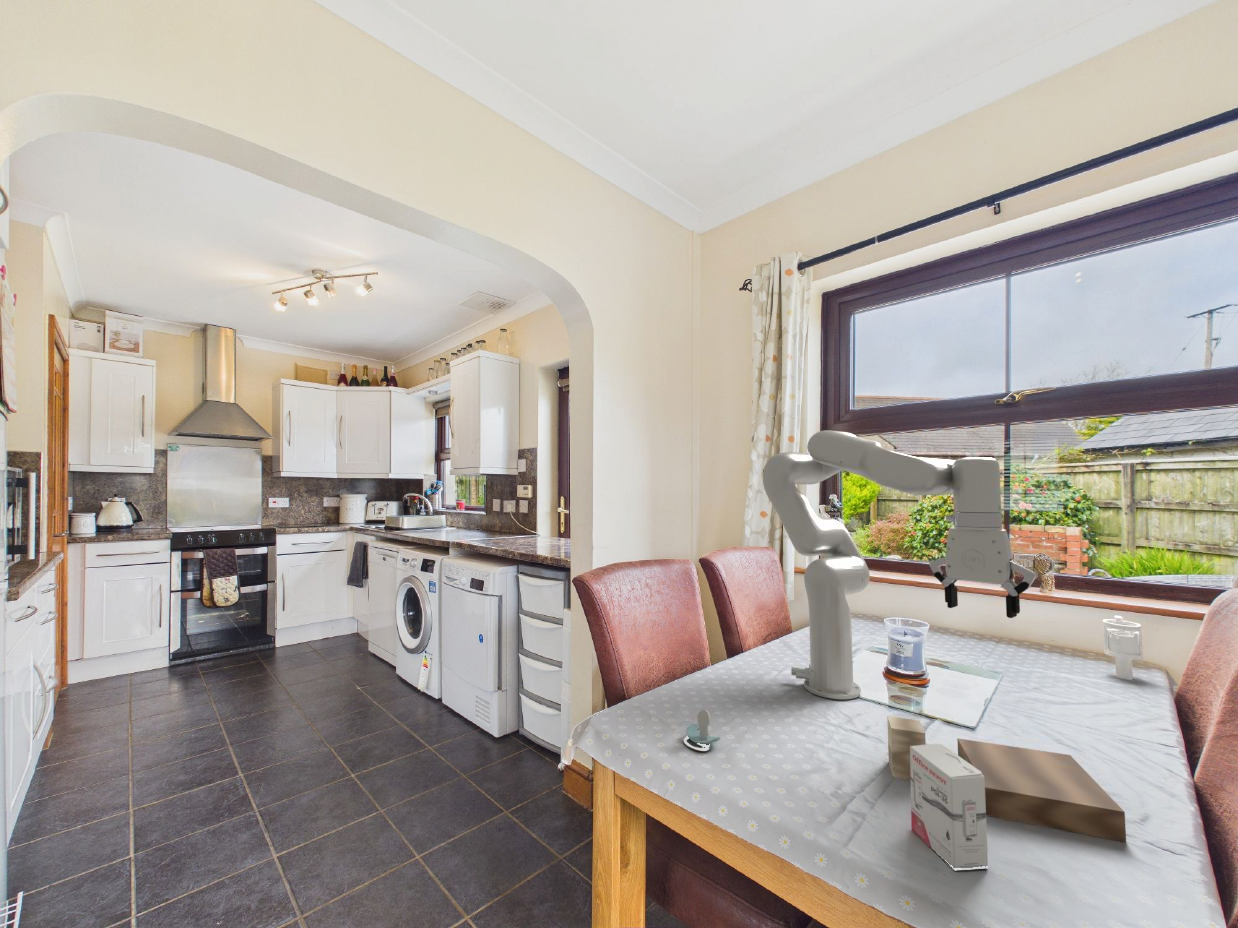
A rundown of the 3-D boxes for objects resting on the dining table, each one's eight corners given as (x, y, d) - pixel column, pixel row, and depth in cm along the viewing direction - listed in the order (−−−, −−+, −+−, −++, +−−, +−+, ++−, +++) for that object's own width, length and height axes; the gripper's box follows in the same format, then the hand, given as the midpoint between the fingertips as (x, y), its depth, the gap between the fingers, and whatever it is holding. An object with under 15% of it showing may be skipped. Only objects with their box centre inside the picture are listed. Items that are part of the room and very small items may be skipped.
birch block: (892, 776, 85) (891, 727, 86) (888, 761, 90) (887, 715, 90) (926, 782, 83) (925, 732, 84) (921, 767, 88) (919, 720, 88)
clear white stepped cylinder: (1139, 675, 130) (1135, 617, 131) (1148, 684, 124) (1145, 623, 125) (1102, 670, 134) (1099, 613, 135) (1109, 679, 128) (1106, 619, 129)
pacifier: (700, 758, 92) (725, 748, 95) (699, 723, 92) (723, 714, 95) (675, 741, 98) (699, 732, 101) (674, 708, 98) (698, 700, 101)
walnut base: (986, 815, 75) (985, 787, 75) (958, 761, 90) (957, 738, 90) (1126, 841, 69) (1124, 811, 69) (1071, 779, 84) (1070, 754, 84)
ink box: (909, 827, 72) (906, 742, 73) (941, 825, 73) (938, 741, 73) (954, 873, 64) (950, 776, 64) (990, 870, 64) (986, 774, 65)
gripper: (920, 520, 102) (923, 606, 101) (1026, 524, 88) (1031, 624, 87) (936, 518, 106) (939, 601, 106) (1040, 523, 93) (1044, 617, 92)
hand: (981, 611), depth 96 cm, fingers open, 9 cm apart
